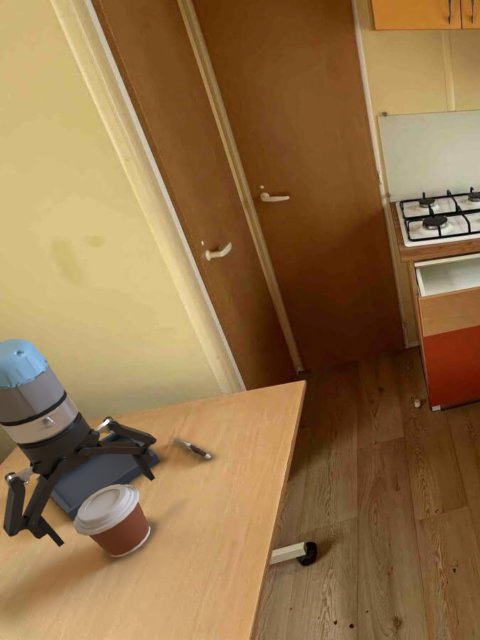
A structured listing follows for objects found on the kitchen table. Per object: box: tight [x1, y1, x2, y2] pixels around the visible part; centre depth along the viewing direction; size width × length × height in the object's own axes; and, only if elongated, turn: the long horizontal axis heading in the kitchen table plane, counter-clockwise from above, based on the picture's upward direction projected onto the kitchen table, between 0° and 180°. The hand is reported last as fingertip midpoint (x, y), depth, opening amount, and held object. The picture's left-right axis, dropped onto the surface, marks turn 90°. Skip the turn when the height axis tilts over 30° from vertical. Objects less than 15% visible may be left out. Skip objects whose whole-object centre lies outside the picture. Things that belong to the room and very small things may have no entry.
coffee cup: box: [73, 484, 151, 558], centre depth 79 cm, size 9×9×12 cm
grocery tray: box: [36, 432, 161, 522], centre depth 94 cm, size 16×16×3 cm
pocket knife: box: [172, 437, 211, 460], centre depth 100 cm, size 14×1×2 cm, turn 67°
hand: (107, 506), depth 77 cm, fingers open, 13 cm apart
